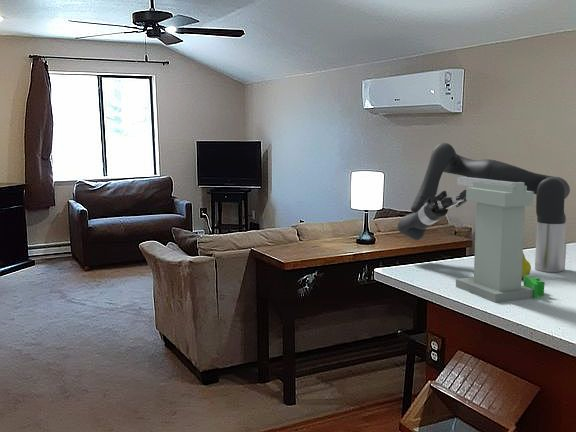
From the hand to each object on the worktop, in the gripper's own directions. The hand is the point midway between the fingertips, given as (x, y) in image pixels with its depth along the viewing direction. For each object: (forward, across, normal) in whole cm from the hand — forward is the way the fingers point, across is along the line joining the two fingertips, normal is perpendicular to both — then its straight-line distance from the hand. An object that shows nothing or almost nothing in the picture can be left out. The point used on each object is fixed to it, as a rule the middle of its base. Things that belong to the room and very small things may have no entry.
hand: (456, 192), depth 197 cm
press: (+3, 0, +35) cm, 35 cm away
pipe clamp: (+8, +11, +39) cm, 41 cm away
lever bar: (+14, 0, +5) cm, 15 cm away
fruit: (-7, +20, +30) cm, 37 cm away
